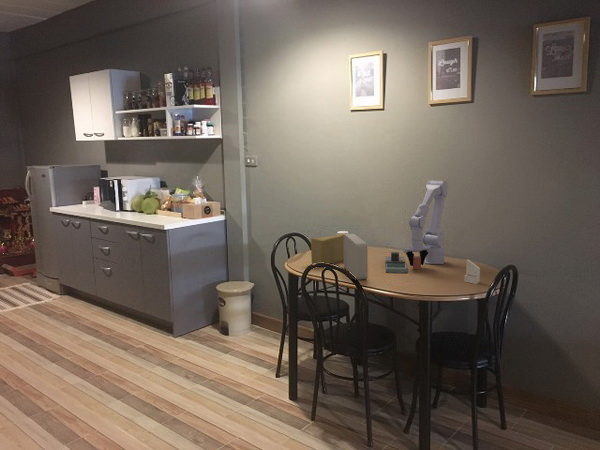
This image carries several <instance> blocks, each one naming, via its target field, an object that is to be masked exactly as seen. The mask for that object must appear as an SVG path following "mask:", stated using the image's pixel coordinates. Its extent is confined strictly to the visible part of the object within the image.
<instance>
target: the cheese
mask: <svg viewBox="0 0 600 450" xmlns="http://www.w3.org/2000/svg"><path fill="white" fill-rule="evenodd" d="M343 238H344V234H338V235H337V234H333V235H329V236H321V237H312V238H311V239H310V250H311V251H310V252H311V253H310V254H311V255H310V256H311V257H310V258H311V264H312V265H313V263H318V262H324V263H333V264H336V263H340V261H341V262H344V240H343Z"/></svg>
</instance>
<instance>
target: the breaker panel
mask: <svg viewBox="0 0 600 450" xmlns="http://www.w3.org/2000/svg"><path fill="white" fill-rule="evenodd" d="M386 264H406V261H405V256H399V261H391V256H385V261H384V265H385V268H386Z"/></svg>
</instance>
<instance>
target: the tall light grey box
mask: <svg viewBox="0 0 600 450" xmlns="http://www.w3.org/2000/svg"><path fill="white" fill-rule="evenodd" d="M343 240H344V261H343V266H344V268H345V270H348V271H349V272H351V273H352V274H353V275H354V276H355V277H356V279H357V280H358V281H359V280H367V279H368V274H369V273H368V269H369V268H368V261H369V260H368V255H369V254H368V253H369V252H368V249H369V248H368V244H367V242H365V241H364V240H363V239H362V238H360V237H359V236H358V235H356V234H355V233H348V234H344V238H343ZM348 271H347V272H348ZM349 272H348V273H349ZM356 279H355V280H356ZM357 280H356V281H357Z"/></svg>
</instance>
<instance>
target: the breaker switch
mask: <svg viewBox="0 0 600 450" xmlns="http://www.w3.org/2000/svg"><path fill="white" fill-rule="evenodd" d="M390 252H391V253H390V257H391V261H399V257H400V251H390Z"/></svg>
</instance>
